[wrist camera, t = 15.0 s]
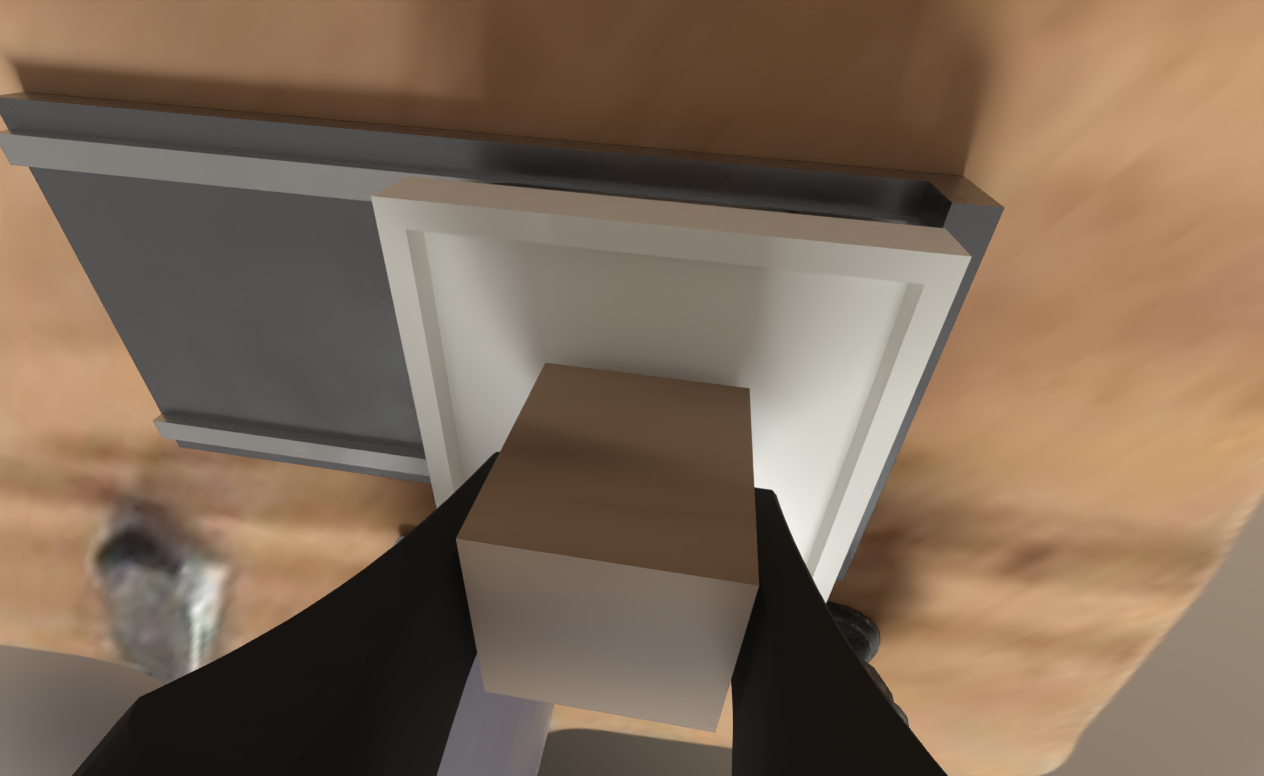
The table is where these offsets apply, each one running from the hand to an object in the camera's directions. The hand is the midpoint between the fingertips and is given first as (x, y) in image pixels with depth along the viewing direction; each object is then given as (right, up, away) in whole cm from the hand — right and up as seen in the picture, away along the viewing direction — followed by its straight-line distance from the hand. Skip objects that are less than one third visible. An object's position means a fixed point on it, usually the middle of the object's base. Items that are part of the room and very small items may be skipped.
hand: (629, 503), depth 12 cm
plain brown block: (0, +1, +1) cm, 2 cm away
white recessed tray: (+1, +3, +4) cm, 4 cm away
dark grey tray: (-5, +4, +5) cm, 8 cm away
